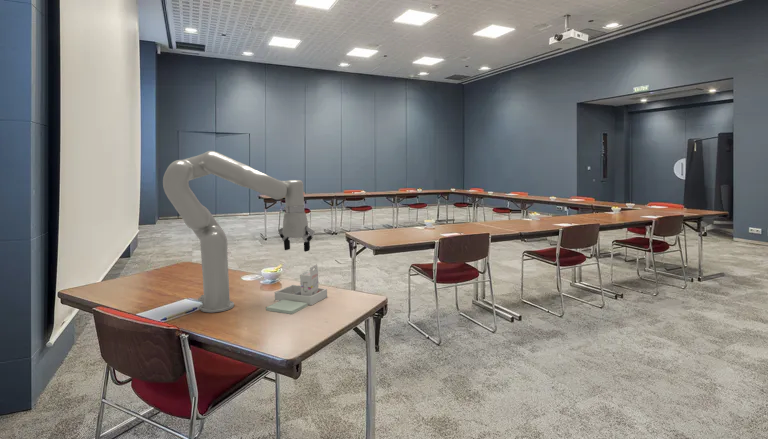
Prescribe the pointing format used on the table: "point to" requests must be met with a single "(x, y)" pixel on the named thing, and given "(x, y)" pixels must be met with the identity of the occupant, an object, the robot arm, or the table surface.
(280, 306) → the board
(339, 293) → the table surface
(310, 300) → the bin
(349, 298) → the table surface
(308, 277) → the ink cartridge box
